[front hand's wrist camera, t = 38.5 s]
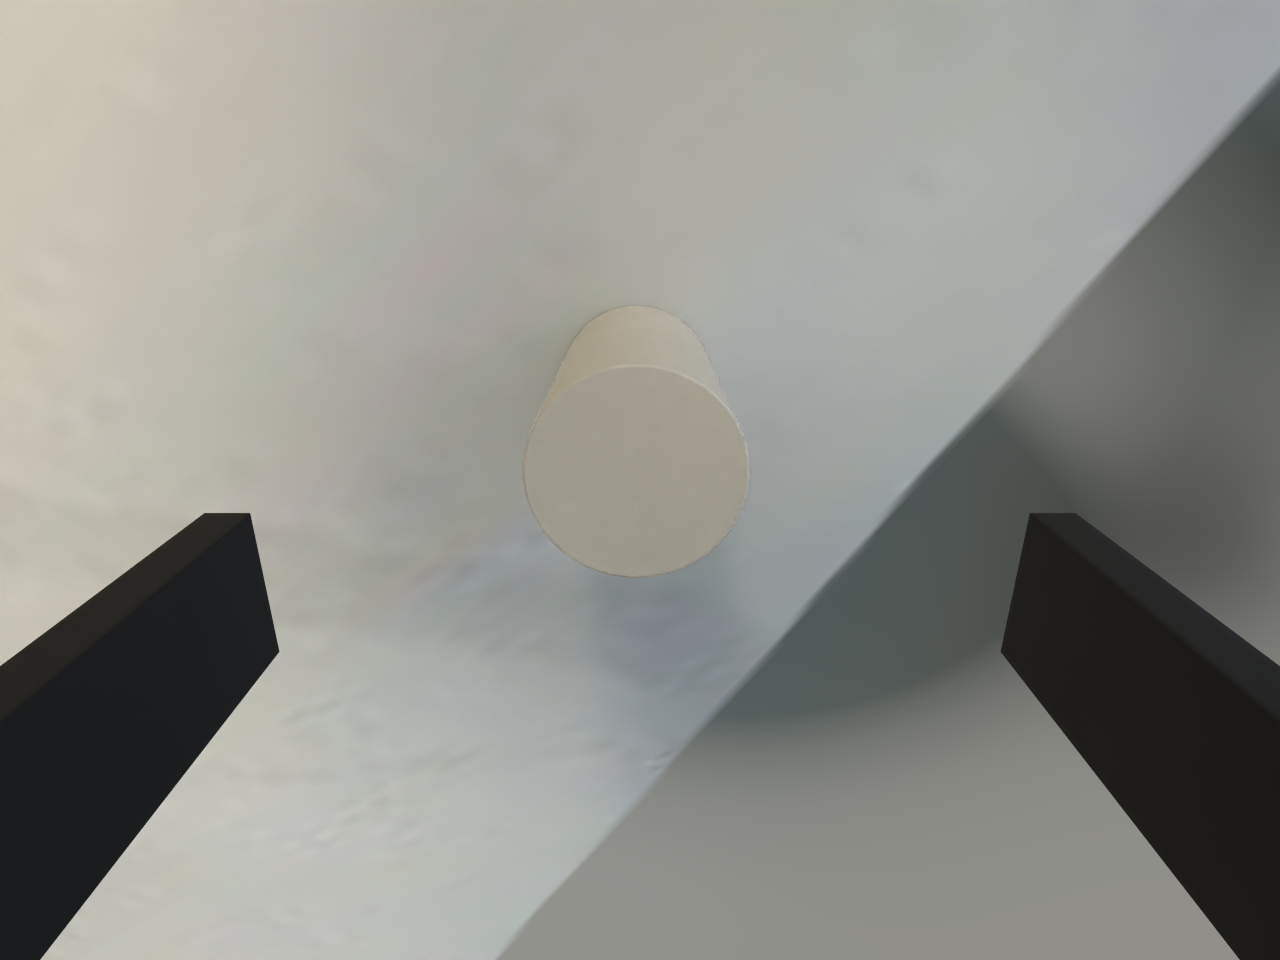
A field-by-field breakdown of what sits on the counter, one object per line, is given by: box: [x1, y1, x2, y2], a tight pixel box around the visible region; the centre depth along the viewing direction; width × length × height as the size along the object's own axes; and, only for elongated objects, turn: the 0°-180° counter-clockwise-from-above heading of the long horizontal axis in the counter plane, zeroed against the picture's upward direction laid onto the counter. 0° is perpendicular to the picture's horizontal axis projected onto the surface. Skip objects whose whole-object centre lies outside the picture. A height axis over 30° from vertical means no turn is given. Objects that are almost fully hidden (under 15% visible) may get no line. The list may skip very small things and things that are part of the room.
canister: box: [523, 306, 750, 577], centre depth 24 cm, size 6×6×11 cm
